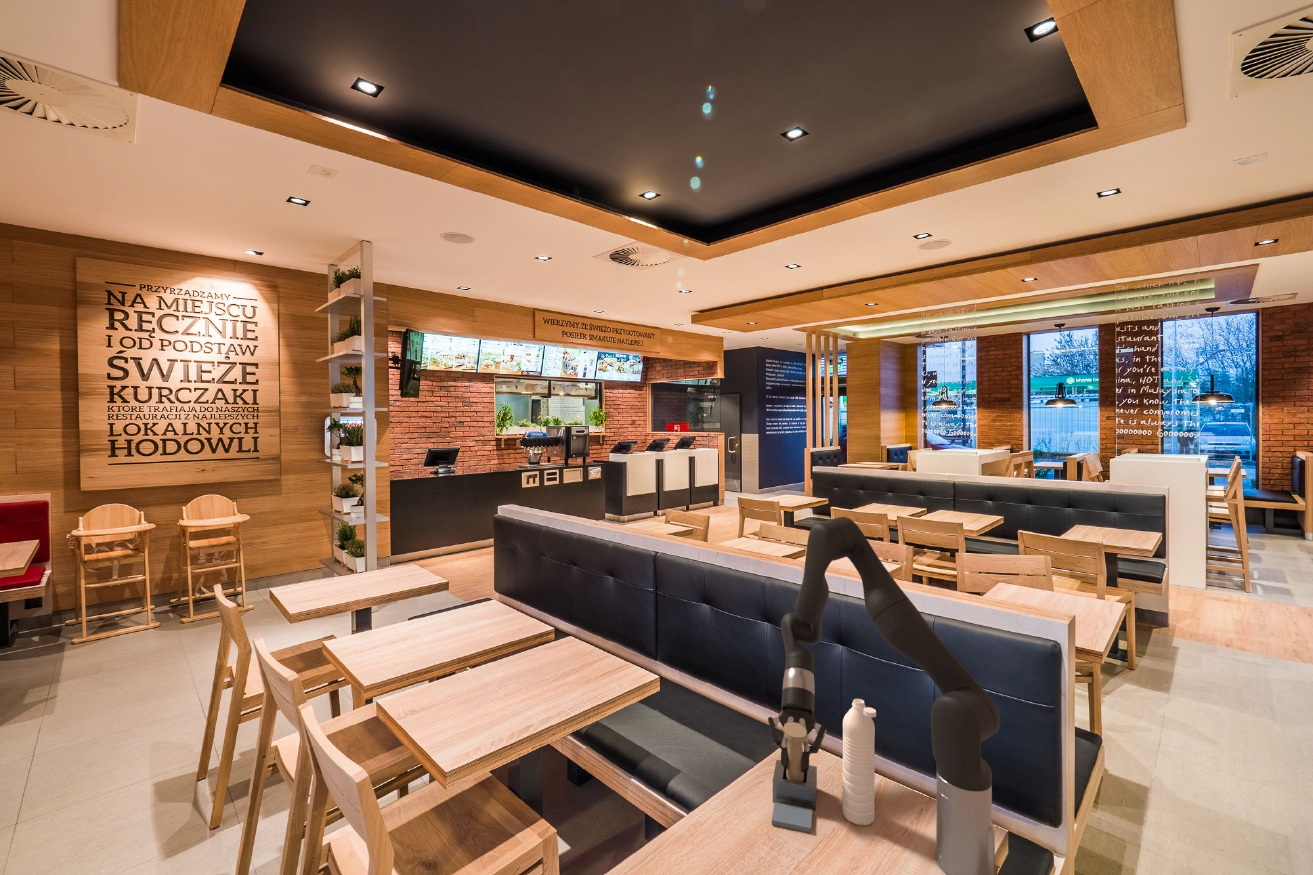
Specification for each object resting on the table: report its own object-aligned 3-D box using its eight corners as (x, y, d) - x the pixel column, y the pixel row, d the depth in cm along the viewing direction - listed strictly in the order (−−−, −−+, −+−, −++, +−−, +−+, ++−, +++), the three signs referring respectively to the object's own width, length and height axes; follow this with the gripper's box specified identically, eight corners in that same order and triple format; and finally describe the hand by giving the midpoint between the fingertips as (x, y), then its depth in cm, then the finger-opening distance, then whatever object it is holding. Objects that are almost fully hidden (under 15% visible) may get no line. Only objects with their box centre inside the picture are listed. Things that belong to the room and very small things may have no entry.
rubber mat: (812, 814, 123) (812, 809, 123) (811, 832, 117) (811, 827, 117) (774, 806, 125) (774, 802, 125) (771, 824, 119) (771, 819, 119)
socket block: (816, 787, 132) (816, 766, 132) (815, 810, 124) (815, 787, 124) (776, 780, 134) (776, 759, 134) (772, 802, 127) (772, 779, 126)
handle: (788, 804, 126) (788, 737, 126) (781, 786, 132) (781, 722, 132) (809, 804, 126) (809, 737, 126) (801, 785, 132) (801, 722, 132)
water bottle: (836, 807, 125) (837, 694, 124) (863, 804, 126) (864, 692, 126) (858, 835, 116) (858, 714, 116) (887, 831, 117) (887, 711, 117)
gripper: (767, 681, 138) (761, 759, 127) (828, 689, 134) (827, 770, 122) (770, 693, 143) (764, 769, 132) (828, 701, 139) (827, 780, 127)
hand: (794, 769), depth 127 cm, fingers closed on handle, 3 cm apart
